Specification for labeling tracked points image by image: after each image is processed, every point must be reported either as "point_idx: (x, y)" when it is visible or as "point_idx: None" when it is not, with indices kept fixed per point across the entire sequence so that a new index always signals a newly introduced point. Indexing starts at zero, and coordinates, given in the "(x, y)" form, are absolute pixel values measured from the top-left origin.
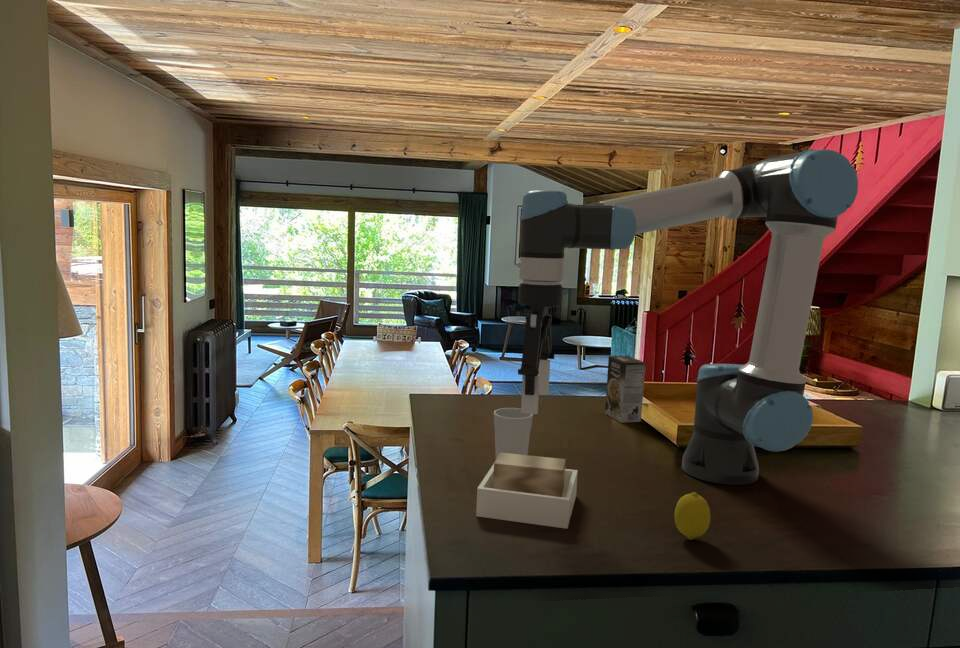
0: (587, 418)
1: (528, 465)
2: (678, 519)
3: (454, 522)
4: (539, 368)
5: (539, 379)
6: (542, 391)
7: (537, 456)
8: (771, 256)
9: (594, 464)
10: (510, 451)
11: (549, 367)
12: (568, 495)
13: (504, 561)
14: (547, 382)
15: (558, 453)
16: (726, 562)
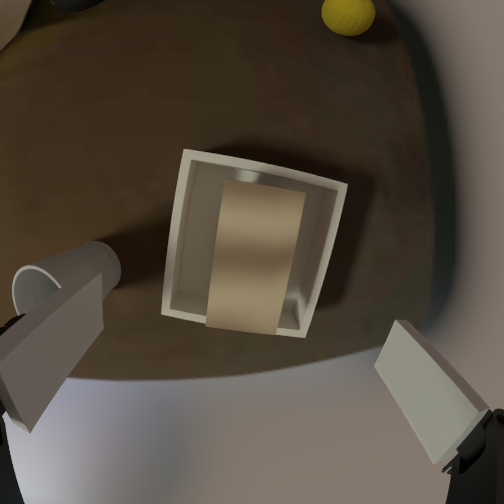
0: None
1: (282, 268)
2: (359, 32)
3: (315, 338)
4: (43, 381)
5: (70, 344)
6: (96, 302)
7: (216, 246)
8: None
9: (56, 126)
10: (104, 285)
11: (18, 335)
12: (327, 182)
13: (410, 272)
14: (72, 302)
15: (24, 188)
16: (384, 21)
